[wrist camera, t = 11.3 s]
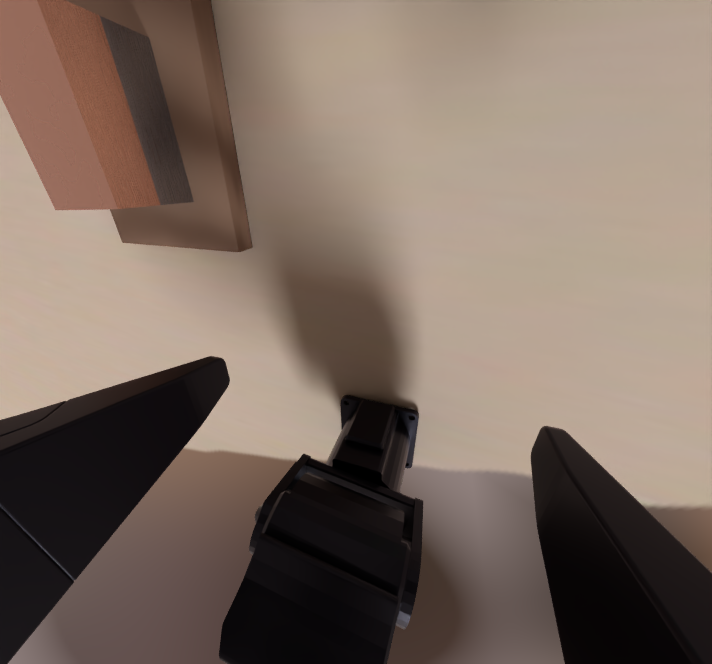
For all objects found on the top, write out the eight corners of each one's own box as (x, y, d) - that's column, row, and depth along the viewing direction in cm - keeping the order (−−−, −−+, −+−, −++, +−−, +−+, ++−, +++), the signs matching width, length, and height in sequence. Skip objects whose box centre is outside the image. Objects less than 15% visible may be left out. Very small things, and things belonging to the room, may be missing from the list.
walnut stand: (252, 247, 21) (238, 252, 20) (140, 239, 24) (122, 242, 23) (203, -40, 14) (178, -60, 13) (57, -1, 17) (25, -15, 16)
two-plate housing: (149, 37, 15) (30, -16, 11) (193, 202, 19) (117, 209, 15) (86, 53, 17) (-40, 12, 13) (138, 203, 20) (55, 210, 16)
